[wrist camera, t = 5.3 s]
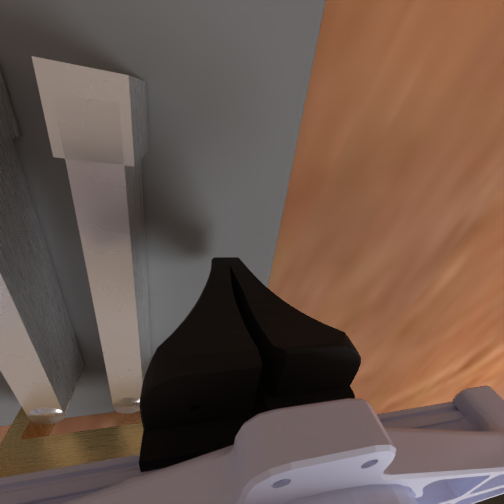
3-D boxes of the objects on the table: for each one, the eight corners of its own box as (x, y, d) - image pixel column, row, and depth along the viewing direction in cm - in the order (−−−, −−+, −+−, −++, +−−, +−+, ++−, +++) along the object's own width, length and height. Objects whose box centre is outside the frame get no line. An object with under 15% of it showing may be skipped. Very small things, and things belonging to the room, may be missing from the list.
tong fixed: (53, 374, 16) (26, 426, 13) (-91, 42, 8) (-229, 15, 5) (91, 371, 16) (73, 420, 14) (-4, 56, 8) (-91, 37, 6)
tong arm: (121, 368, 17) (109, 415, 14) (77, 68, 9) (31, 55, 6) (156, 365, 17) (150, 411, 15) (146, 81, 9) (128, 75, 7)
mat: (-38, 422, 17) (-45, 431, 17) (-681, -334, 4) (-793, -390, 4) (244, 388, 22) (245, 395, 22) (325, -30, 9) (333, -38, 9)
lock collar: (50, 405, 17) (3, 505, 13) (37, 378, 16) (-21, 482, 11) (177, 390, 19) (173, 473, 15) (176, 365, 18) (171, 450, 13)
